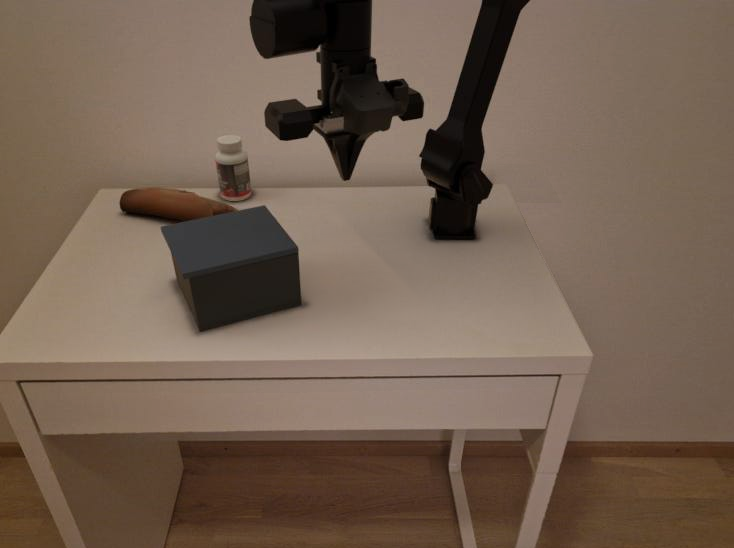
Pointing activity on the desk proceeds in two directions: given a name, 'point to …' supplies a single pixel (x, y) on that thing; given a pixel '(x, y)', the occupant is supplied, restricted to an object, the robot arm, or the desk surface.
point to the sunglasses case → (171, 204)
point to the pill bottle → (232, 169)
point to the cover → (227, 241)
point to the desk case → (242, 291)
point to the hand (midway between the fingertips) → (345, 179)
